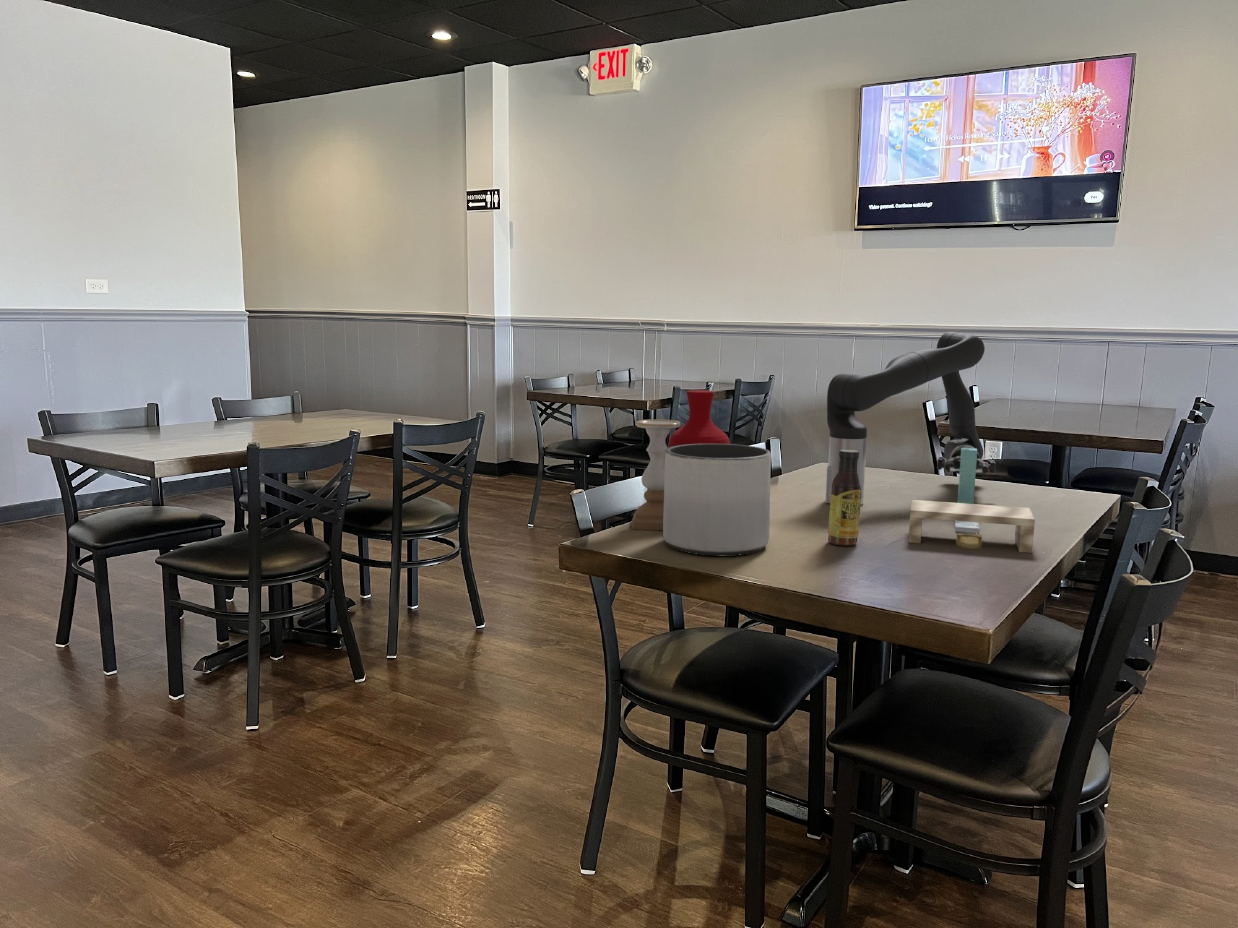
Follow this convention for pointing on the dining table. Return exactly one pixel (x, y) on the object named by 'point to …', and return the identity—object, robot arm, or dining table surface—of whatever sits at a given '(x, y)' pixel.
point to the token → (969, 540)
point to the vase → (699, 422)
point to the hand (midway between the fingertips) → (966, 469)
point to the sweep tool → (967, 487)
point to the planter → (717, 498)
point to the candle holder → (654, 475)
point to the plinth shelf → (974, 518)
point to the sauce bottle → (845, 501)
